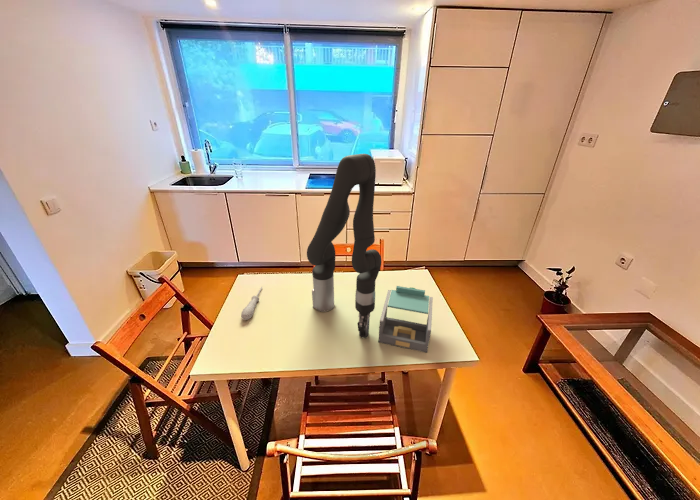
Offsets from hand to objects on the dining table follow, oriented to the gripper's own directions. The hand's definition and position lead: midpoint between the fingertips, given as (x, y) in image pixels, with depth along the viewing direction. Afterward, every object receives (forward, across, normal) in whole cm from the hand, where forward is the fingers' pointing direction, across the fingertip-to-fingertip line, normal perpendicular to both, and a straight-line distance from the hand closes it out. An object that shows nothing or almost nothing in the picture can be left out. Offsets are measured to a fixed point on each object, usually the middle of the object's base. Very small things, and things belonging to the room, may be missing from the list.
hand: (364, 331), depth 118 cm
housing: (+2, -7, +16) cm, 18 cm away
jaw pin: (+2, 0, 0) cm, 2 cm away
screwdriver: (+2, -5, -54) cm, 54 cm away
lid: (-9, -12, +16) cm, 22 cm away
